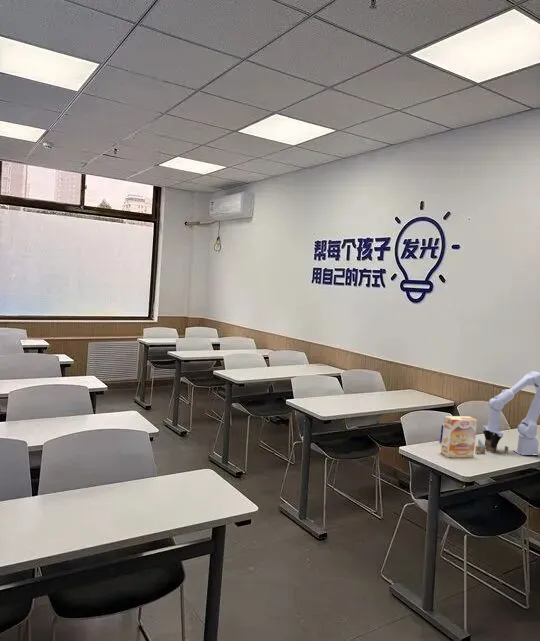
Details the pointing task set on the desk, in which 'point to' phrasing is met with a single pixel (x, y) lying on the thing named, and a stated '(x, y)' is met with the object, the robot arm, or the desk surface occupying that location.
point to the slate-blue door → (482, 445)
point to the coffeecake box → (458, 436)
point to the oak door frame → (480, 449)
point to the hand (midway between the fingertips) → (491, 446)
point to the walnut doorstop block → (489, 445)
